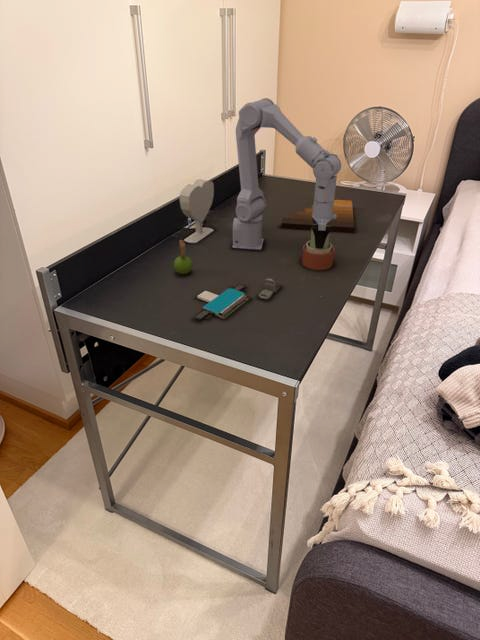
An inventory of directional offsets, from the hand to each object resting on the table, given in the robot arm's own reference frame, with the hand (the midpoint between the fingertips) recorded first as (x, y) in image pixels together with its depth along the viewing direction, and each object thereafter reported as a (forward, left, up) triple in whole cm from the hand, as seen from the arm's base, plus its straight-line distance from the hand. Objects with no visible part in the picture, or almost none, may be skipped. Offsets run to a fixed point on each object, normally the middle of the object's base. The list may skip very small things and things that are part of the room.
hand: (319, 243), depth 142 cm
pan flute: (0, +37, -7) cm, 38 cm away
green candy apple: (-39, -13, -7) cm, 42 cm away
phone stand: (-26, -27, -7) cm, 38 cm away
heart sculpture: (-40, +15, -7) cm, 44 cm away
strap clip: (-13, -20, -7) cm, 25 cm away
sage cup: (0, 0, -2) cm, 2 cm away
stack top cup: (0, 0, -6) cm, 6 cm away
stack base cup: (0, 0, -6) cm, 6 cm away
